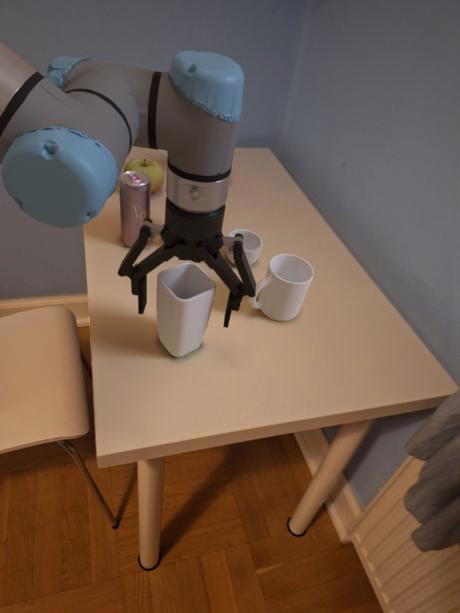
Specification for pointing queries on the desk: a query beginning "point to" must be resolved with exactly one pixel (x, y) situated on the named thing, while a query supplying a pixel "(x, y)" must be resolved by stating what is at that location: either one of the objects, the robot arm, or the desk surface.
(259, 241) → the teacup
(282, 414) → the desk surface
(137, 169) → the apple
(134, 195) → the beverage can
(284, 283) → the mug
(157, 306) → the cup
